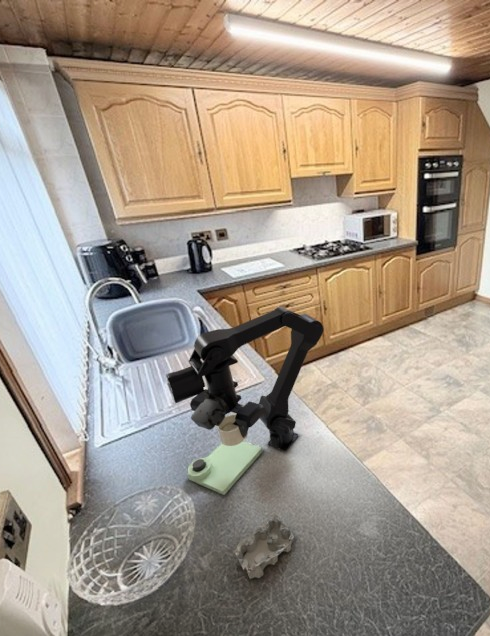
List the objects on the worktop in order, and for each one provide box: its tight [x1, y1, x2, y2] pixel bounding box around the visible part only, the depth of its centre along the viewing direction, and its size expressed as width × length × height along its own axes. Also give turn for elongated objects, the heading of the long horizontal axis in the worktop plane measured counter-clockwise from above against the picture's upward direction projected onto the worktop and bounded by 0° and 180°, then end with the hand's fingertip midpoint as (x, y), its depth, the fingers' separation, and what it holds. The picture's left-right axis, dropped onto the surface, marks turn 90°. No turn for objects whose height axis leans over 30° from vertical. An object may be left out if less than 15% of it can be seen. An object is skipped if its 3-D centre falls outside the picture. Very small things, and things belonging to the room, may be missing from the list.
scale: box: [187, 440, 264, 496], centre depth 93 cm, size 15×13×3 cm
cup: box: [216, 413, 249, 446], centre depth 89 cm, size 7×7×5 cm
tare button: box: [193, 458, 205, 472], centre depth 90 cm, size 3×3×2 cm
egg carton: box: [234, 514, 295, 580], centre depth 72 cm, size 11×8×4 cm
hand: (233, 432), depth 89 cm, fingers closed on cup, 6 cm apart
